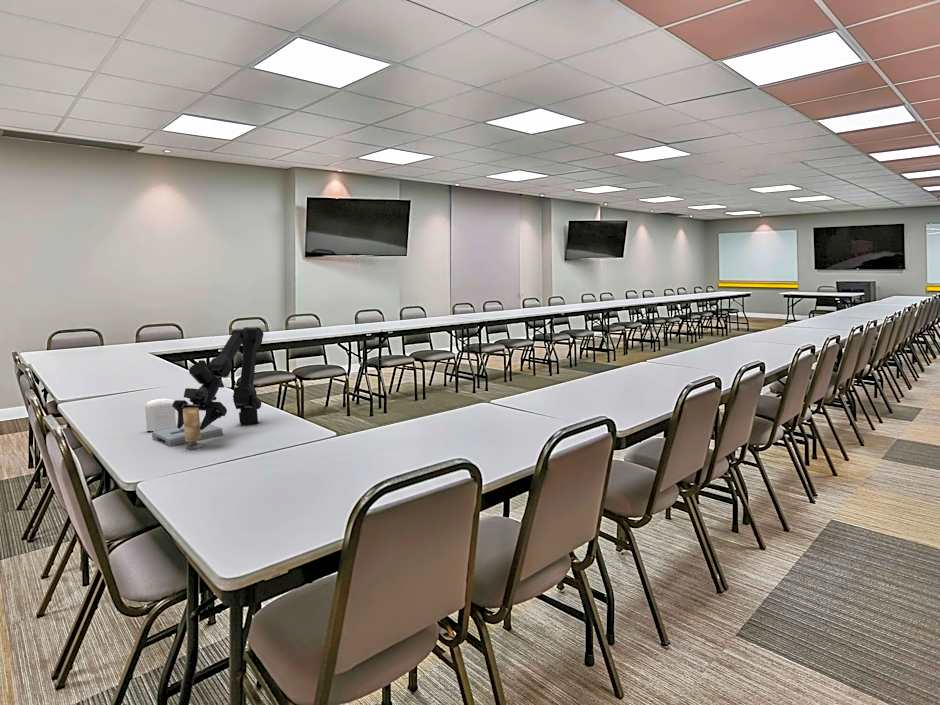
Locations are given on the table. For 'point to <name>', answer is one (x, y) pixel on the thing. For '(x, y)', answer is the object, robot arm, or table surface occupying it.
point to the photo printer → (160, 414)
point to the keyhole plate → (178, 435)
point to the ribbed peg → (192, 427)
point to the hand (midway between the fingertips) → (189, 428)
